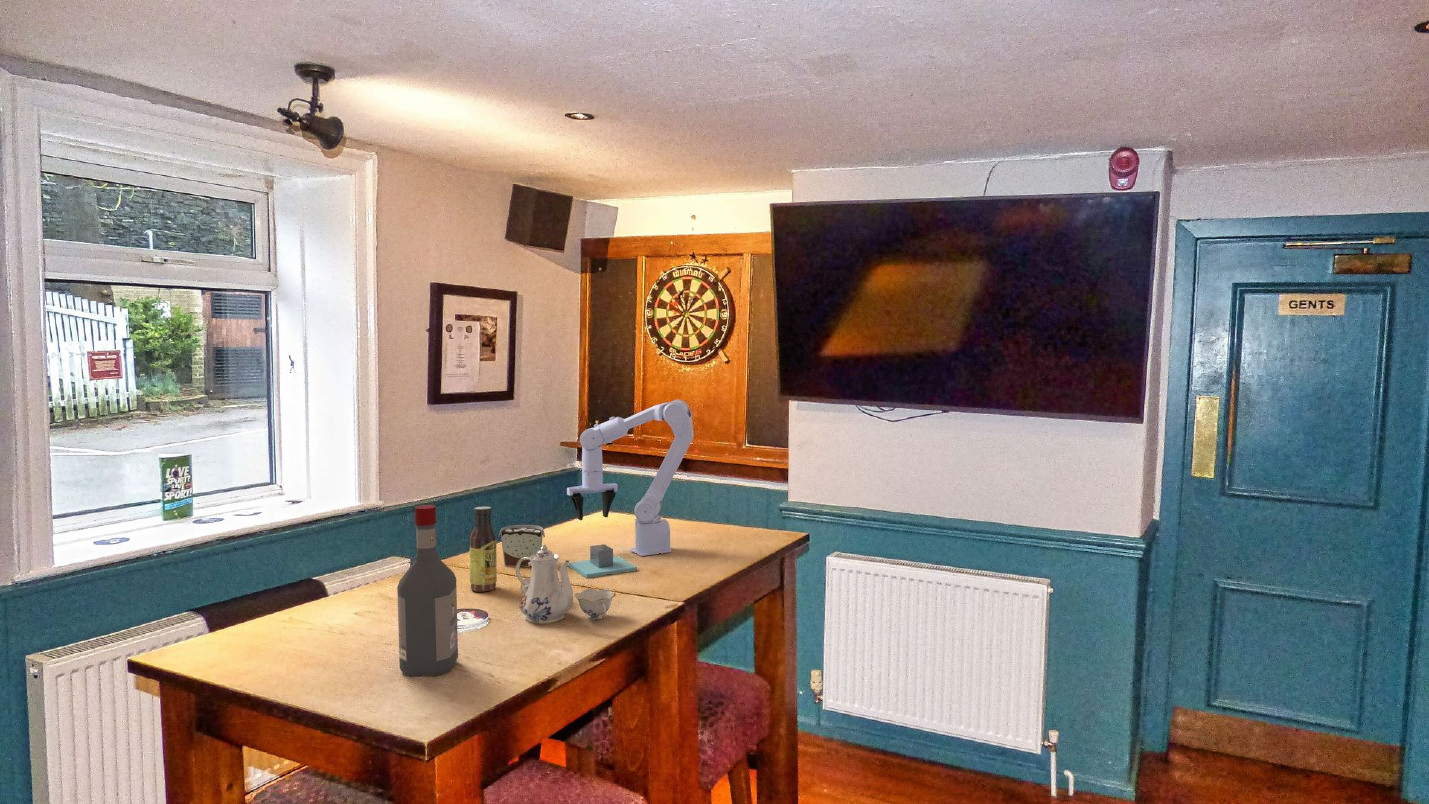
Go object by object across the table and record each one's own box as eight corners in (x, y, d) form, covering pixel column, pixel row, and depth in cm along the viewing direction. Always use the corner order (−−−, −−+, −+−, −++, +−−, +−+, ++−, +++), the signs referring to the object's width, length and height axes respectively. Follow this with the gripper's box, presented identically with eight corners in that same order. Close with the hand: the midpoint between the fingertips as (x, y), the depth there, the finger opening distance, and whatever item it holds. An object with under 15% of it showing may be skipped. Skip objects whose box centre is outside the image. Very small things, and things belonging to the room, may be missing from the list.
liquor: (460, 658, 166) (457, 501, 163) (447, 677, 156) (443, 511, 154) (412, 658, 165) (407, 502, 163) (396, 677, 156) (391, 512, 154)
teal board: (617, 559, 238) (617, 556, 238) (637, 570, 227) (637, 567, 227) (568, 566, 231) (568, 562, 231) (586, 578, 220) (586, 574, 220)
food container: (551, 561, 237) (550, 524, 236) (544, 567, 231) (543, 530, 230) (507, 560, 238) (506, 524, 237) (499, 566, 232) (498, 528, 231)
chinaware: (628, 622, 191) (632, 546, 192) (578, 636, 177) (583, 555, 177) (533, 602, 206) (537, 531, 206) (480, 614, 192) (484, 538, 192)
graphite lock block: (604, 560, 233) (604, 544, 233) (613, 566, 228) (613, 549, 227) (590, 562, 231) (590, 546, 231) (598, 568, 226) (598, 550, 226)
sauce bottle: (489, 593, 207) (488, 511, 205) (465, 592, 208) (463, 510, 207) (501, 586, 213) (500, 505, 212) (478, 584, 214) (476, 504, 213)
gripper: (610, 466, 253) (611, 513, 254) (562, 470, 246) (563, 518, 247) (620, 470, 247) (620, 517, 248) (571, 474, 240) (572, 522, 241)
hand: (592, 518), depth 247 cm, fingers open, 7 cm apart
